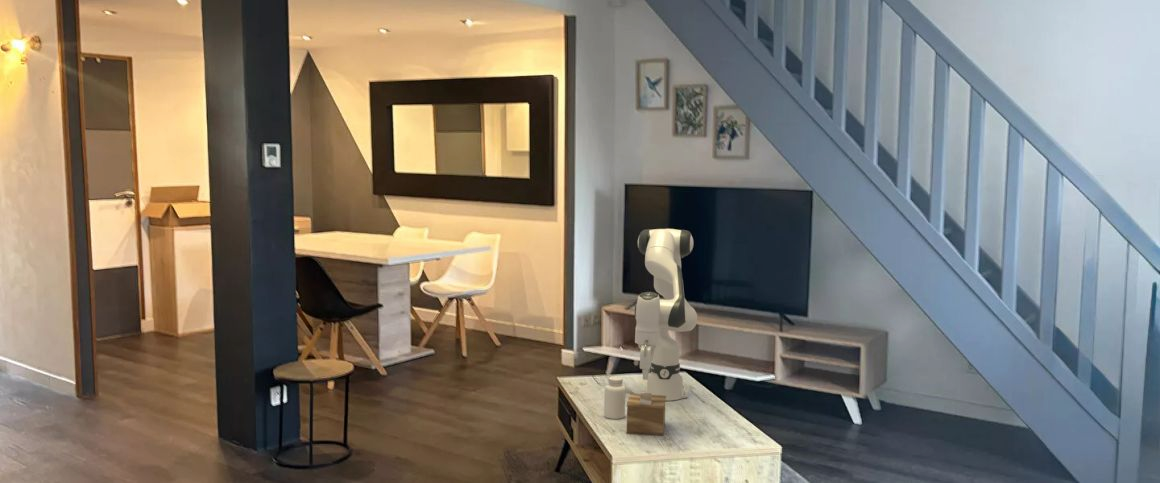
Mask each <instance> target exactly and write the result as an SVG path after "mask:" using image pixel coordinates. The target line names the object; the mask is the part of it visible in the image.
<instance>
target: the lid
mask: <svg viewBox="0 0 1160 483" xmlns="http://www.w3.org/2000/svg"><path fill="white" fill-rule="evenodd" d="M627 406H630V407H647V408H664V406H665V407H666V396H662V395H652V393H642V392H640V393H639V394H638V393H630V394H629V397H628V400H627V402H626V407H627Z"/></svg>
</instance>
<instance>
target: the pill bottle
mask: <svg viewBox="0 0 1160 483" xmlns="http://www.w3.org/2000/svg"><path fill="white" fill-rule="evenodd" d="M603 403H604V404H603V405H604V406H603V410H604V411H603V415H604V417H605V418H606V419H612V420H620V419H623V418H624V417H625V413H626V386H625V385H624V384H623V377H621V376H610V377H608V384H606V385H605V386H604V402H603Z"/></svg>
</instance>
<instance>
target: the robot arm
mask: <svg viewBox="0 0 1160 483" xmlns="http://www.w3.org/2000/svg"><path fill="white" fill-rule="evenodd" d="M637 248H638V251H639V252H640V253H641V254H642V255H644V256H645V257H644V265H645V269H646V270H647V271H648V273H649V274H651V275H652V276H653V288H654V290H655V292H653V291H645V292H641V293H639V294H638V296H637V301H636V304H635V305H634V320H636V326H635V330H634V331H635V335H634V343H635V344H637V345H638V348H639V349H640V350H639V351H640V352H639V369H640V370H642V372H641V373H642V379H643V380H644V381H646V388H645V389H644V390H643V391H642V392H641V393H652V395H662V396H666V401H669V402H671V401H677V400H681V399H687V398H688V393H687V392H686V390H685V389H684V378H683V376H682V375H681V374H680V372H681V371H680V370H681V365H680V364H681V363H680V345H679V343H678V342H677V341H676V340H675V339H674V338H672V337H671V336H670V335H669V333H668V331H670V332H671V331H673V332H680V333H681V332H691V331H692V330H693V329H694V328H695V327H696V325H697V324H698V314H697V311H696V310H695V308H694V307H693V306H691V304H689V302H688V301H687V299H686V298H685V290H684V280H683V272H682V260H681V259H683V258H685V257H687V256H688V255H690V254H691V253H692V251H693V248H694V238H693V236H692V233H691V232H690V231H689V230H685V229H675V228H656V229H651V228H648V229H643V230H642V231H641V232H640V233H639V235H638V239H637ZM660 296H661V297H663V298H664V299H661V298H660ZM666 401H665V402H666Z"/></svg>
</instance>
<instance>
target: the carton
mask: <svg viewBox="0 0 1160 483" xmlns="http://www.w3.org/2000/svg"><path fill="white" fill-rule="evenodd" d="M626 411H627V412H626V434H629V435H644V436H645V435H646V436H660V437H661V436H662V437H663V436H664V431H665V425H666V405H665V406H664V408H647V407H630V406H627V405H626Z"/></svg>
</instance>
